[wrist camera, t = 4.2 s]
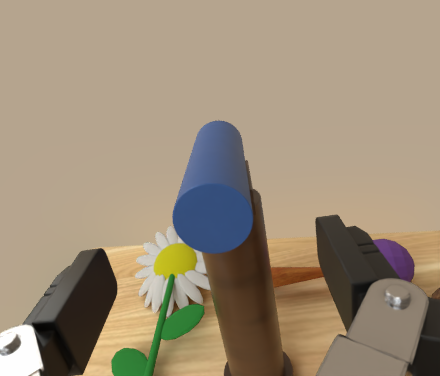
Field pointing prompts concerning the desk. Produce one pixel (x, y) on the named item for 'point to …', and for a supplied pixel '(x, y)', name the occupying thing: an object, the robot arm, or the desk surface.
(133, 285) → the desk surface
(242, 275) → the post
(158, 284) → the decorative flower
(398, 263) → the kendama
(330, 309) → the desk surface
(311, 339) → the desk surface
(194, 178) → the tube
